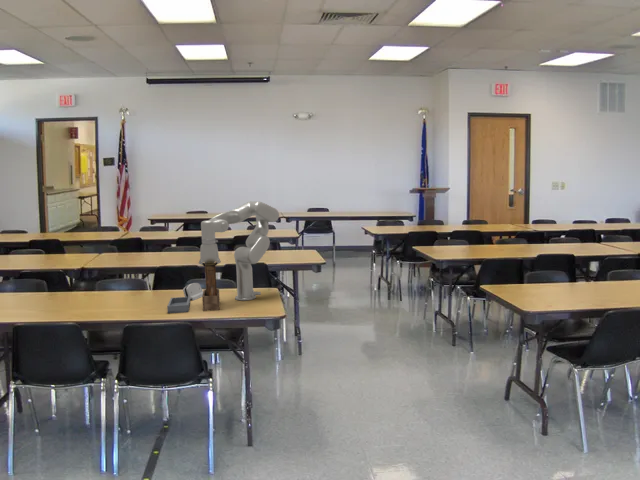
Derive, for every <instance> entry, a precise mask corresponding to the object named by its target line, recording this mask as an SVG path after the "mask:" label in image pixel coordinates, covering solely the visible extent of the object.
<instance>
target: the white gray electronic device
mask: <svg viewBox="0 0 640 480" xmlns="http://www.w3.org/2000/svg"><path fill="white" fill-rule="evenodd" d="M182 291H183V295H184V296H183V297H190V300H192V301H195V300H198V299H200V298H202V296H203V288H202V286H201V284H200V283H198V282H193V283H190V284H187V285H185V287H183V289H182Z"/></svg>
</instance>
